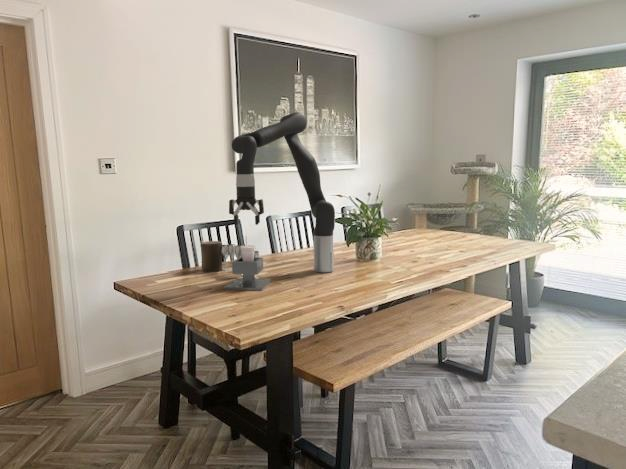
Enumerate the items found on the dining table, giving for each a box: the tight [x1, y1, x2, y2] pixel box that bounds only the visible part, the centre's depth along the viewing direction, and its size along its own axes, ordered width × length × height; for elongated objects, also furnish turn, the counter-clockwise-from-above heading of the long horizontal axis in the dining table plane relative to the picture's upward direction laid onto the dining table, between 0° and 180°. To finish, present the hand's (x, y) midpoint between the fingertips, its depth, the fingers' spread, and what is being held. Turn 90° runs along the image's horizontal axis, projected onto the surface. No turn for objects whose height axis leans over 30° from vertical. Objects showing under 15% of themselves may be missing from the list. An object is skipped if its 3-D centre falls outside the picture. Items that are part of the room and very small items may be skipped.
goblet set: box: [220, 243, 260, 279], centre depth 227 cm, size 28×6×13 cm, turn 44°
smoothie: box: [240, 235, 256, 262], centre depth 205 cm, size 6×6×14 cm
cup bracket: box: [223, 257, 272, 292], centre depth 206 cm, size 16×16×11 cm
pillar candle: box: [200, 240, 223, 273], centre depth 235 cm, size 10×10×15 cm
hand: (246, 224), depth 203 cm, fingers open, 8 cm apart
